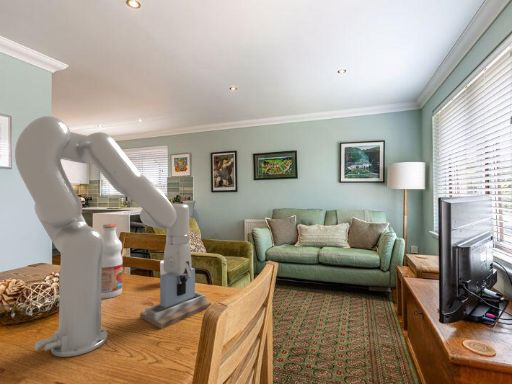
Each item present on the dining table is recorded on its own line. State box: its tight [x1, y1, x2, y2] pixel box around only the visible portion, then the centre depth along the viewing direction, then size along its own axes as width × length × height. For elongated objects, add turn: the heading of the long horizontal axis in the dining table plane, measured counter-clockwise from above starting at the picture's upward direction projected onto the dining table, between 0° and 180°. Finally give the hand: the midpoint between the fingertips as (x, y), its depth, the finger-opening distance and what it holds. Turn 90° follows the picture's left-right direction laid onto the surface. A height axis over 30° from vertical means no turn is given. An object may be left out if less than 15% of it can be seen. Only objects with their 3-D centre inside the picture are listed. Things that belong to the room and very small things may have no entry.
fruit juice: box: [101, 223, 123, 299], centre depth 108 cm, size 9×9×28 cm
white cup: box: [159, 259, 167, 275], centre depth 122 cm, size 8×8×10 cm
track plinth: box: [139, 291, 212, 330], centre depth 92 cm, size 20×12×4 cm, turn 142°
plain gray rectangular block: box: [159, 267, 196, 308], centre depth 92 cm, size 12×3×10 cm, turn 142°
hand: (178, 292), depth 92 cm, fingers closed on plain gray rectangular block, 3 cm apart
